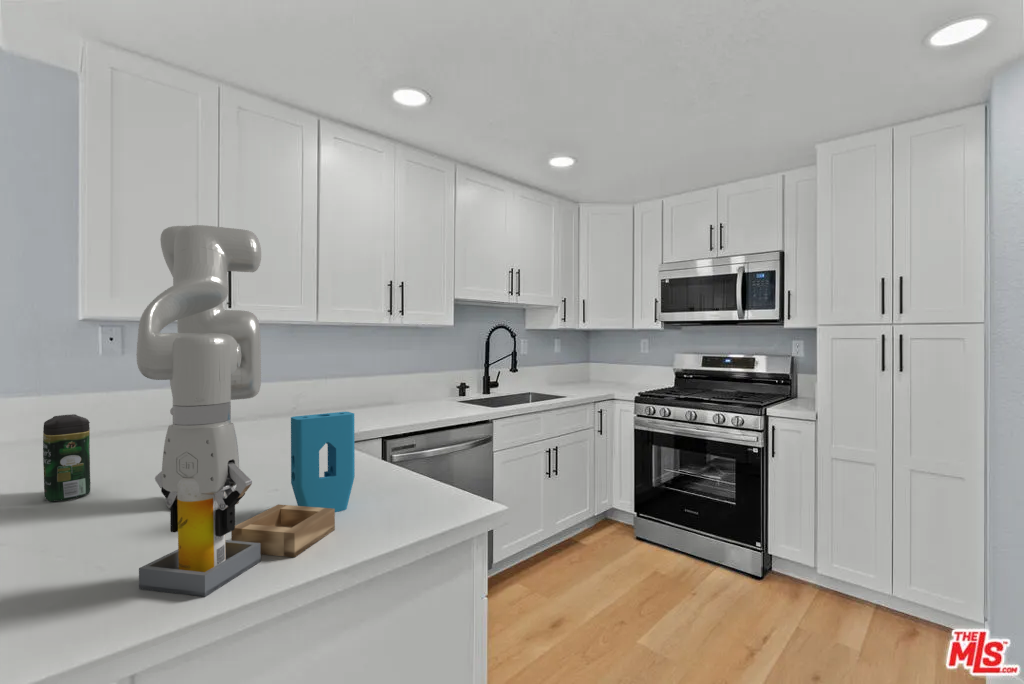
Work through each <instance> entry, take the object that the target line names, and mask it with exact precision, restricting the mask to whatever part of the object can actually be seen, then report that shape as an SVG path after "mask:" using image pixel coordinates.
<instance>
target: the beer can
mask: <svg viewBox="0 0 1024 684" xmlns="http://www.w3.org/2000/svg"><path fill="white" fill-rule="evenodd" d="M223 494H224V496H225V491H224V492H223ZM177 507H178V531H177V546H178V547H177V549H178V560H179V570H188V571H197V572H206V571H208V570H210V569H211V568H213V567H215V566H217V565H218V564H220V563H222V562H223V561H225V560H226V548H225V540H226V534H225V535H223V536H221V537H218V536H216V535H215V512H216V510H218V509H220V508H219V506H218V504H217V502H216V500H215V498H214V495H213V494H210V495H205V494H201V493H199V485H198V483H197V482H196V481H195V478H183V477H181V480H180V481H179V482H178V484H177Z"/></svg>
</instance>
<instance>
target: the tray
mask: <svg viewBox="0 0 1024 684" xmlns="http://www.w3.org/2000/svg"><path fill="white" fill-rule="evenodd" d="M225 548H226V560H225V561H223V562H222V563H220V564H218V565H217V566H215V567H213V568H211V569H210V570H208V571H206V572H197V571H188V570H179V560H178V548H177V549H176V550H173V551H171V552H169V553H167V554H165V555H163V556H161V557H159V558H157V559H155V560H153V561H150V562H149V563H146V564H145V565H143V566H141V567H139V568H138V589H139V590H143V591H144V590H145V591H153V592H160V593H167V594H168V593H169V594H178V595H184V596H185V595H186V596H193V597H194V596H195V597H201V598H202V597H203V598H205V597H207V596H209V595H210V594H212V593H214V592H215V591H217V590H218V589H221V587H223V586H224V585H227V583H230V582H231V581H232V580H234V579H236V578H237V577H239V576H240V575H242V574H243V573H245V572H247V571H248V570H250V569H251V568H254V566H256V565H257V564H259V563H261V562H262V561H261V559H262V558H261V555H262V554H260V543H253V542H242V541H232V540H230V539H229V540H228V539H225Z"/></svg>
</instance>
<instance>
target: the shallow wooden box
mask: <svg viewBox="0 0 1024 684" xmlns="http://www.w3.org/2000/svg"><path fill="white" fill-rule="evenodd" d="M335 517H336V512H335V509H332V508H319V507H306V506H298V505H289V504H276V505H274V506H272V507H271V508H269V509H267V510H264V511H262V512H260V513H258V514H256V515H254V516H252V517H250V518H248V519H246V520H245V521H244V520H243V521H242V522H240V523H237V524H235V529H234V530H233V531H231V533H230V534H231V536H230V537H231V540H232V541H242V542H253V543H260V554H261V555H265V556H266V555H267V556H275V557H285V558H286V557H287V558H296V557H298V556H300V555H301V554H302V553H304V552H305V551H306V550H308V549H309V548H311V547H312V546H313V545H315V544H317V543H318V542H319V541H321V540H322V539H324V538H325V537H327V536H328V535H329V534H331V533H333V532H334V531H335V529H336V526H335V525H336V524H335V523H336V520H335V519H336V518H335Z"/></svg>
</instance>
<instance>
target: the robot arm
mask: <svg viewBox="0 0 1024 684" xmlns="http://www.w3.org/2000/svg"><path fill="white" fill-rule="evenodd" d="M159 240H160V248H161V252H162V256H163V258H164V261H165V264H166V266H167V268H168V269H169V273H170V275H171V276H172V286H170V287H168V288H167V289H165V290H164V291H162V292H161V293H159V294H158V295H157V296H156V297H155V298H154V299H153V300H152V301H150V302H149V304H147V306H146V307H145V309H144V310H143V312H142V314H141V316H140V319H139V322H138V330H137V339H136V340H137V342H136V364H137V367H138V368H137V369H138V371H139V372H140V373H141V375H142V376H143V377H145V378H146V379H150V380H153V381H155V380H156V381H169V387H170V390H171V396H172V407H171V408H170V410H169V411H170V414H171V416H172V424H169V425H168V427H167V430H166V433H165V439H164V445H163V451H162V453H163V454H162V462H161V463H162V464H161V471H160V472H159V473H158V474H156V475H155V477H154V480H155V482H156V484H157V485H158V487H159V489H160V490H161V494H162V495H163V496H164V498H165V499H166V500H165V501H166V502H165V504H166V507H167V508H168V509H170V511H169V512H170V513H169V514H170V515H169V516H170V521H169V522H170V523H169V524H170V532H171V533H178V507H177V484H178V482H179V481H180V480H181V477H183V478H195V481H196V482H197V483H198V485H199V493H201V494H205V495H210V494H213V495H214V498H215V500H216V502H217V504H218V506H219V508H220V509H218V510H216V512H215V535H216V536H218V537H221V536H223V535H225V536H226V535H227V534H228V533H230V532H231V531H233V530H234V529H235V526H236V505H239V502H240V500H241V499H242V498H243V497H244V496H245V494H246V492H247V491H248V490H249V488H250V487H251V486H252V484H253V480H251V478H250V477H249V476H247V475H246V473H245V472H244V471H243V470H241V468H240V457H239V456H240V455H239V445H238V438H237V433H236V429H235V424H234V422H232V416H231V415H232V413H231V412H232V411H231V410H232V409H231V407H232V402H231V401H232V400H234V401H235V400H247V399H251V398H254V397H256V396H257V395H259V392H260V391H261V384H262V383H261V382H262V369H261V368H262V364H261V363H262V360H261V359H262V356H261V355H262V354H261V349H262V346H261V327H260V322H259V319H258V317H257V316H256V314H254V312H252V311H249V310H243V309H241V310H239V309H238V310H237V309H234V310H233V309H224V307H223V303H224V302H225V301H226V299H227V297H228V295H229V282H228V272H238V273H240V272H241V273H255V272H257V271H258V270H259V268H260V266H261V265H260V264H261V261H262V247H261V243H260V241H259V238H258V237H257V235H256V234H255V232H253V231H250V230H248V229H244V228H243V229H241V228H234V227H233V228H232V227H225V226H223V227H222V226H213V225H205V224H204V225H203V224H194V225H173V226H169V227H166V228H164V229H163V231H162V232H161V234H160V239H159ZM176 321H177V332H161V331H162V330H163V329H164V328H165V327H166V326H168V325H170V324H171V323H174V322H176ZM234 486H235V487H234ZM224 491H225V496H224V494H223V492H224Z"/></svg>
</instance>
